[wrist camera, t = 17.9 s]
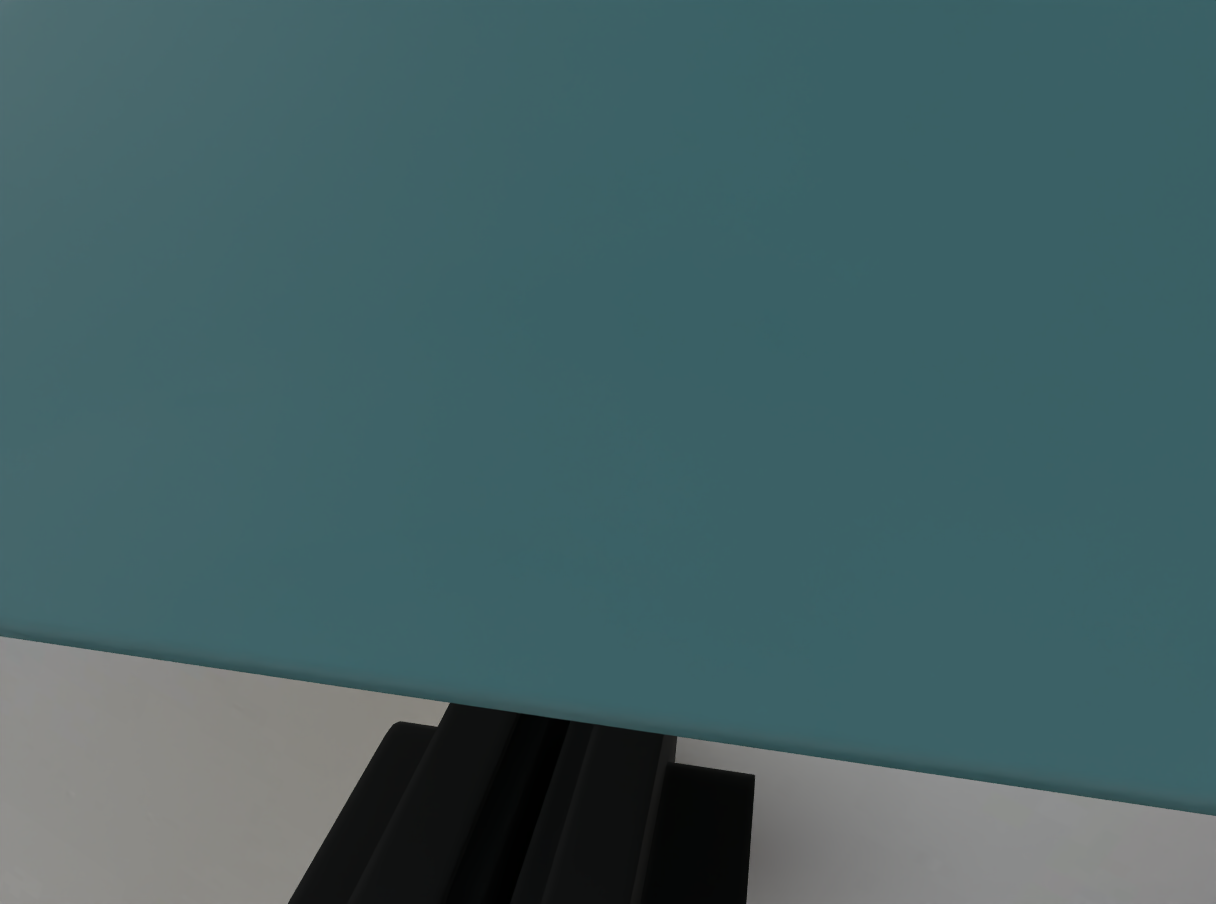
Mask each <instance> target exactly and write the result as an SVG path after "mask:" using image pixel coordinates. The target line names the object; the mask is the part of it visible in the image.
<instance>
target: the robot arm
mask: <svg viewBox="0 0 1216 904" xmlns="http://www.w3.org/2000/svg"><path fill="white" fill-rule="evenodd" d="M676 743H677V736H672V735H665V734H659V733H652V732H645V731H638V730H632V729H625V728H618V727H611V726H605V725H598V724H591V723H584V722H578V721H571V720H564V719H557V718H550V717H544V716H537V715H530V714H523V713H517V712H510V711H503V710H496V709H490V708H483V707H476V706H469V705H463V704H456V703H450V704H449V706H448V708H447V710H446V712H445V714H444V716H443V718H442V720H441V722H440V723H439V725H438V727H434V726H428V725H421V724H415V723H408V722H401V721H400V722H397V723H395V724H393V725H392V727H391V728H390V729H389V731H388V732H387V733H386V735H385V736H384V738H383V740H382V742H381V743H380V745H379V747H378V748H377V750H376V752H375V754H374V755H373V757H372V759H371V761H370V762H369V764H368V766H367V768H366V769H365V771H364V773H363V774H362V776H361V778H360V780H359V781H358V783H357V785H356V787H355V788H354V790H353V792H352V793H351V795H350V797H349V799H348V800H347V802H346V804H345V806H344V807H343V809H342V811H341V813H340V814H339V816H338V818H337V819H336V821H335V823H334V825H333V826H332V828H331V830H330V832H329V833H328V835H327V837H326V838H325V840H324V842H323V844H322V845H321V847H320V849H319V851H318V852H317V854H316V856H315V858H314V859H313V861H312V863H311V864H310V866H309V868H308V870H307V871H306V873H305V875H304V877H303V878H302V880H301V882H300V883H299V885H298V887H297V889H296V890H295V892H294V894H293V896H292V897H291V899H290V901H289V903H288V904H746V899H747V885H748V871H749V857H750V843H751V830H752V816H753V802H754V787H755V775H752V774H745V773H739V772H732V771H726V770H719V769H712V768H706V767H699V766H692V765H686V764H679V763H675V753H676Z"/></svg>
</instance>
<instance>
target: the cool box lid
mask: <svg viewBox="0 0 1216 904" xmlns="http://www.w3.org/2000/svg"><path fill="white" fill-rule="evenodd" d="M0 636H3V637H9V638H16V639H23V640H30V641H36V642H43V643H50V644H57V645H63V646H70V647H77V648H84V649H91V650H97V651H104V652H111V653H118V654H124V655H131V656H138V657H145V658H151V659H158V660H165V661H172V662H178V663H185V664H192V665H199V666H205V667H212V668H219V669H226V670H233V671H239V672H246V673H253V674H260V675H266V676H273V677H280V678H287V679H293V680H300V681H307V682H314V683H320V684H327V685H334V686H341V687H348V688H354V689H361V690H368V691H375V692H381V693H388V694H395V695H402V696H408V697H415V698H422V699H429V700H435V701H442V702H449V703H456V704H463V705H469V706H476V707H483V708H490V709H496V710H503V711H510V712H517V713H523V714H530V715H537V716H544V717H550V718H557V719H564V720H571V721H578V722H584V723H591V724H598V725H605V726H611V727H618V728H625V729H632V730H638V731H645V732H652V733H659V734H665V735H672V736H679V737H686V738H693V739H699V740H706V741H713V742H720V743H726V744H733V745H740V746H747V747H753V748H760V749H767V750H774V751H780V752H787V753H794V754H801V755H808V756H814V757H821V758H828V759H835V760H841V761H848V762H855V763H862V764H868V765H875V766H882V767H889V768H895V769H902V770H909V771H916V772H922V773H929V774H936V775H943V776H950V777H956V778H963V779H970V780H977V781H983V782H990V783H997V784H1004V785H1010V786H1017V787H1024V788H1031V789H1037V790H1044V791H1051V792H1058V793H1065V794H1071V795H1078V796H1085V797H1092V798H1098V799H1105V800H1112V801H1119V802H1125V803H1132V804H1139V805H1146V806H1152V807H1159V808H1166V809H1173V810H1180V811H1186V812H1193V813H1200V814H1207V815H1213V816H1216V0H0Z"/></svg>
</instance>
